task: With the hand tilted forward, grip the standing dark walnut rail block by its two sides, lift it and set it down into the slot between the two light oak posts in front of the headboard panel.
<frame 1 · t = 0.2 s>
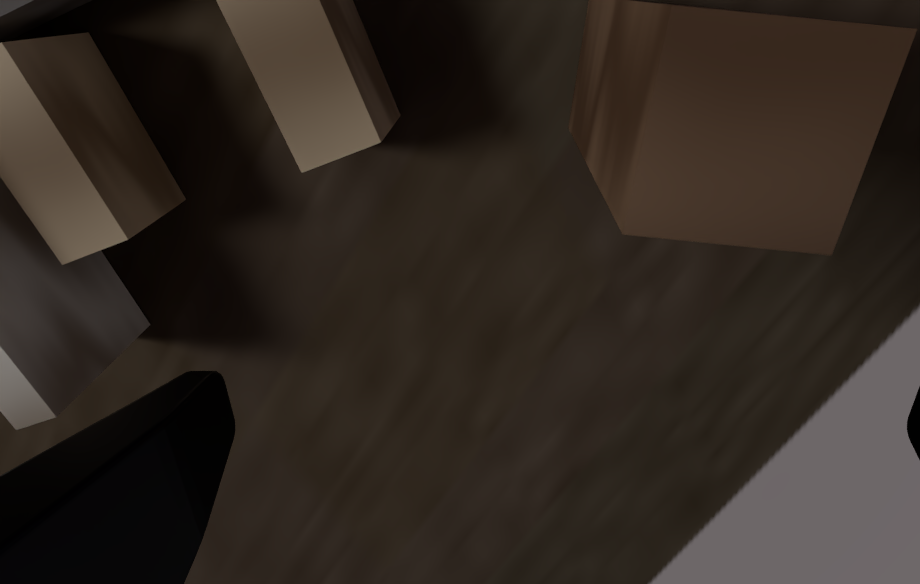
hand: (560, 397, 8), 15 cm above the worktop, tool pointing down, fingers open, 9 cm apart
rail block: (640, 71, 20), on the worktop
headboard: (214, 88, 21), on the worktop
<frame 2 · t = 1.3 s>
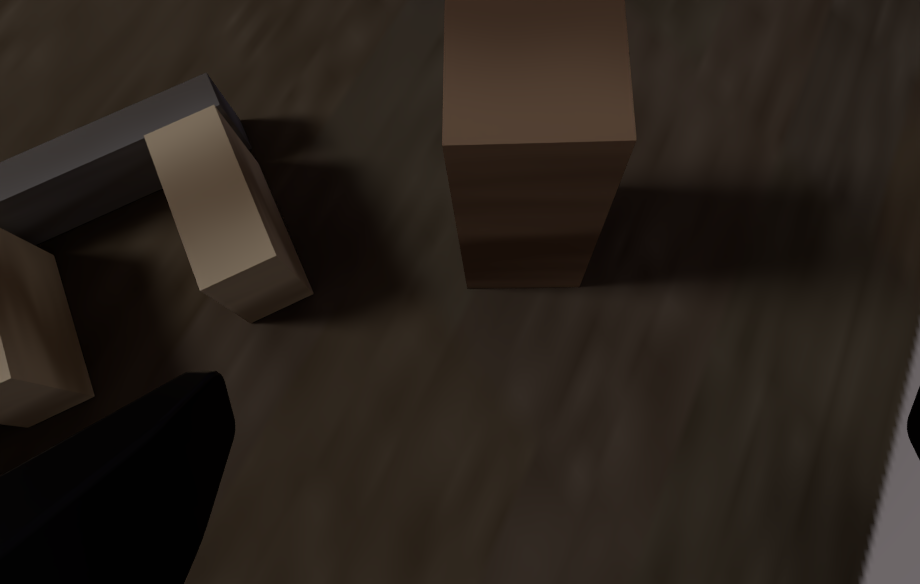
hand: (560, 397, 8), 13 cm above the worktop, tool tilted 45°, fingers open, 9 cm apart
rail block: (521, 236, 23), on the worktop
headboard: (149, 288, 23), on the worktop
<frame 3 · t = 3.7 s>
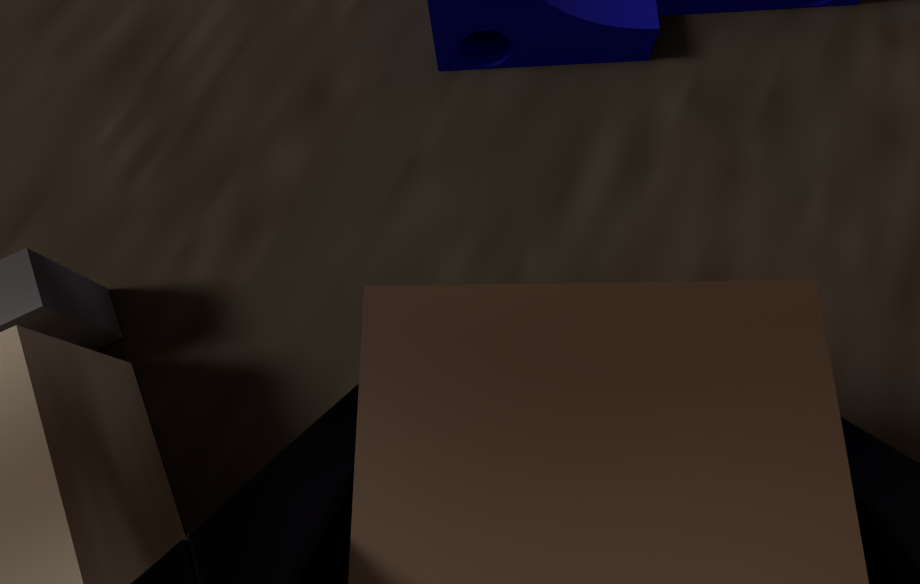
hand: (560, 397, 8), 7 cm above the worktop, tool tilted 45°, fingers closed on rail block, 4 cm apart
rail block: (535, 498, 15), on the worktop, touching gripper
cable clip: (638, 5, 19), on the worktop
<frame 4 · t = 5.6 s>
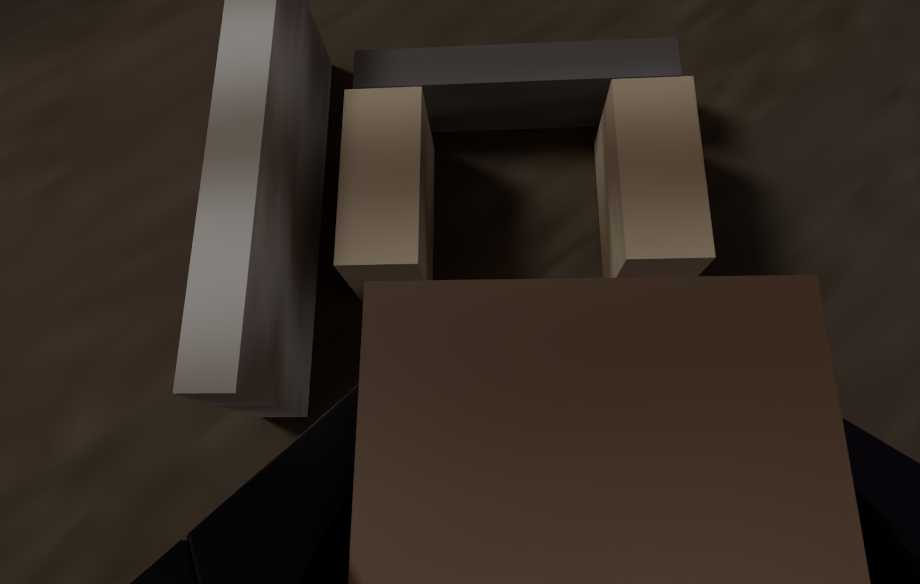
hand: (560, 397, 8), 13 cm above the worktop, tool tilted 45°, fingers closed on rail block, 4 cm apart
rail block: (535, 496, 15), point 6 cm above the worktop, touching gripper
headboard: (515, 220, 23), on the worktop
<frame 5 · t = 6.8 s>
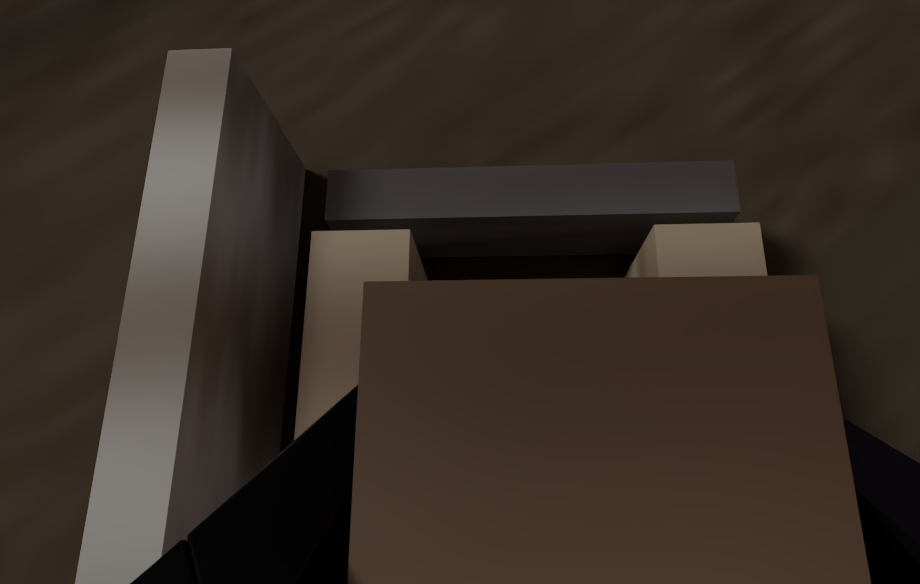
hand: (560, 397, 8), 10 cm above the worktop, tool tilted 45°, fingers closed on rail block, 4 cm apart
rail block: (535, 497, 15), point 3 cm above the worktop, touching gripper
headboard: (527, 375, 18), on the worktop
when the fingers open (8 cm above the worktop, at t = 7.9 s): rail block drops 1 cm, on the worktop.
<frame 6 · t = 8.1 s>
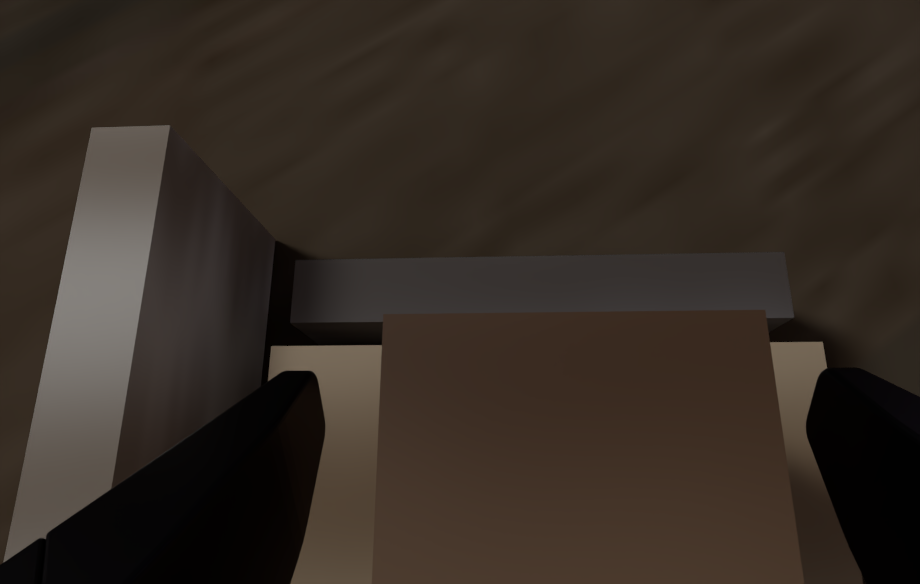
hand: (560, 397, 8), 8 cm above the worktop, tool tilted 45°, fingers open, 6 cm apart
rail block: (532, 496, 16), on the worktop
headboard: (534, 497, 16), on the worktop
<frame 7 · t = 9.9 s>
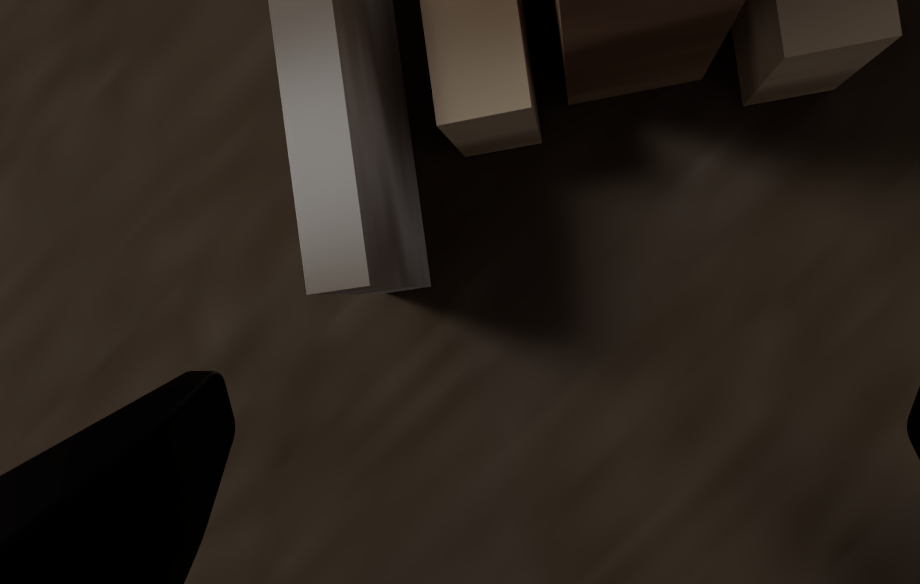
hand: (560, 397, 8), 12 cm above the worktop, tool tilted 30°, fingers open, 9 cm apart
rail block: (624, 29, 19), on the worktop
headboard: (625, 29, 19), on the worktop
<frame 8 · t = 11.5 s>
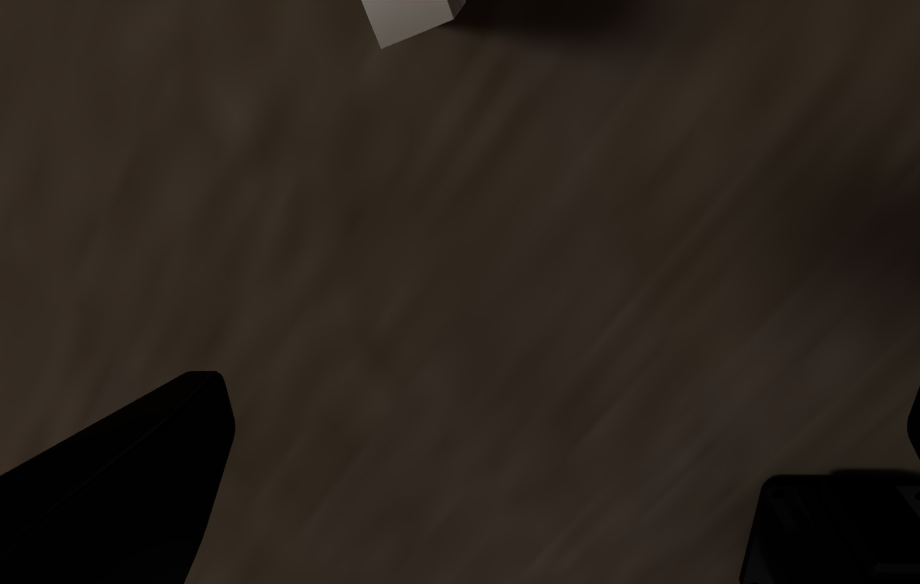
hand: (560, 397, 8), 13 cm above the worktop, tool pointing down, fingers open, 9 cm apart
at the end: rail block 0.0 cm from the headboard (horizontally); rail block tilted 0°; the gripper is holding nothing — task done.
